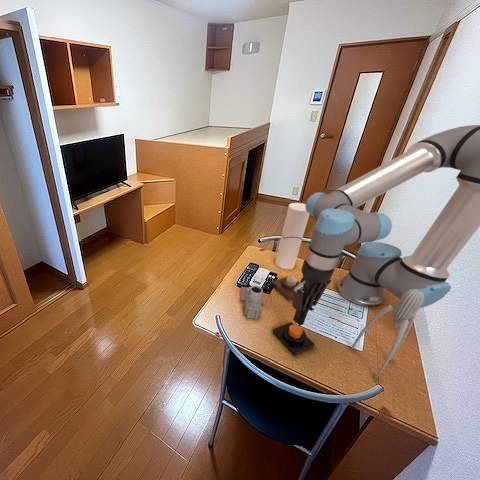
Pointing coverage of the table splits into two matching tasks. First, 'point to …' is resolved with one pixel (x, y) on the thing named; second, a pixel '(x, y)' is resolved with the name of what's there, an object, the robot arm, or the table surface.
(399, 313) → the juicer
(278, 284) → the brown button base
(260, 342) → the table surface
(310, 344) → the dark button base
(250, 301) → the grey pipe fitting
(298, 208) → the container
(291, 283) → the cream button
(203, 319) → the table surface
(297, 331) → the orange button
